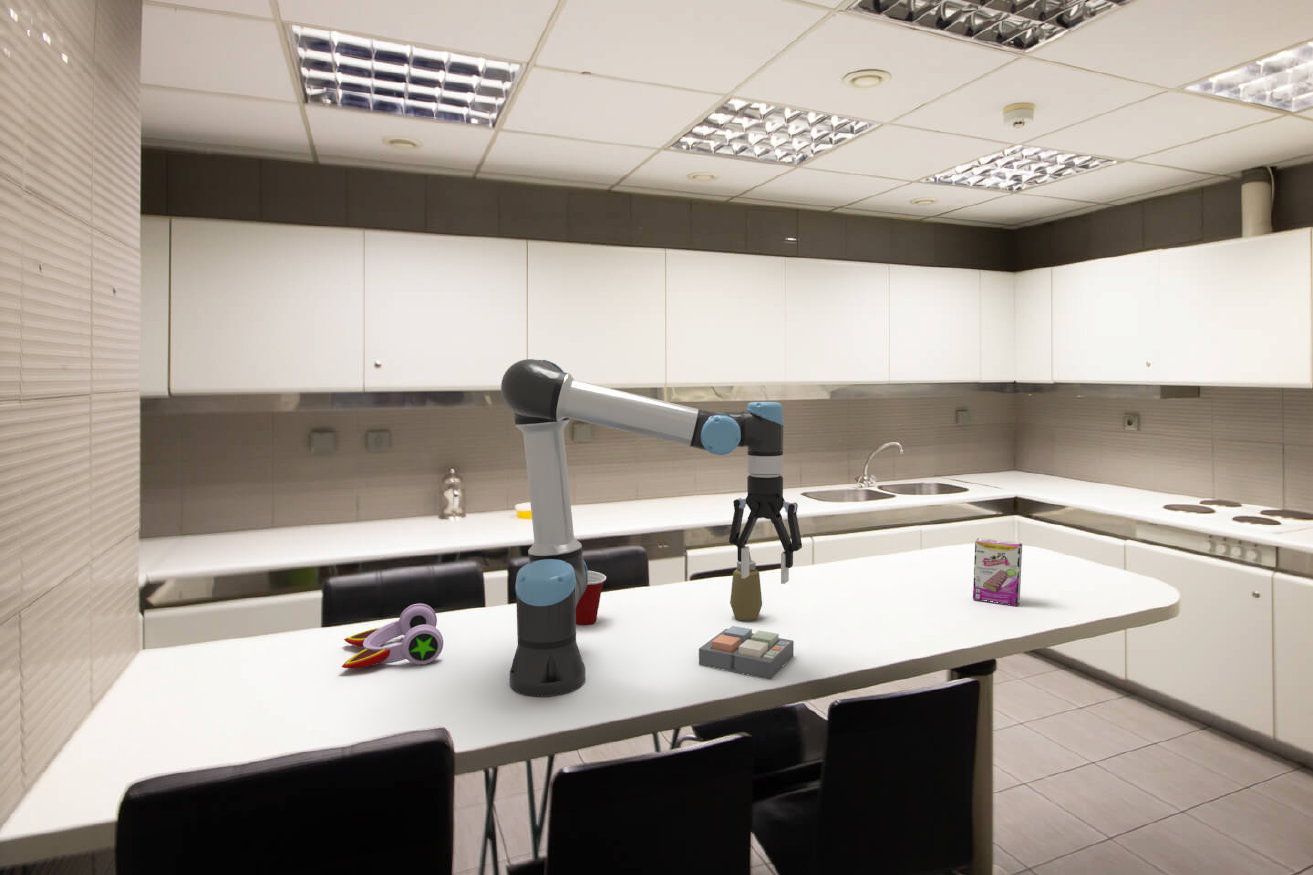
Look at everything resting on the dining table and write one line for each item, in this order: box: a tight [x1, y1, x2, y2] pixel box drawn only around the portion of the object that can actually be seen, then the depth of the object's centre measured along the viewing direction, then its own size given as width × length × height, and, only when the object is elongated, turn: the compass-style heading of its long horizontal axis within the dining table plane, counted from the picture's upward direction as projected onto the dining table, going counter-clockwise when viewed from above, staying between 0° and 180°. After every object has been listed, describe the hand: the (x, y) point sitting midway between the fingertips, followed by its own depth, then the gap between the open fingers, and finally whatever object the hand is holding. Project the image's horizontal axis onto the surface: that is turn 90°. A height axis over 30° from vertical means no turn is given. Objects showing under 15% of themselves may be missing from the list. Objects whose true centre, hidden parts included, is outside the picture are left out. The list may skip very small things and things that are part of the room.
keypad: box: [698, 628, 795, 680], centre depth 157 cm, size 14×16×4 cm
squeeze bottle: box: [729, 551, 763, 622], centre depth 184 cm, size 8×8×18 cm
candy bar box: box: [972, 537, 1023, 607], centre depth 196 cm, size 11×5×16 cm, turn 58°
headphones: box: [341, 603, 444, 670], centre depth 163 cm, size 20×10×20 cm
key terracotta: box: [712, 635, 740, 653], centre depth 156 cm, size 5×5×3 cm
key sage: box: [751, 630, 779, 648], centre depth 158 cm, size 5×5×3 cm
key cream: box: [739, 639, 768, 658], centre depth 153 cm, size 5×5×3 cm
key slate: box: [724, 625, 753, 643], centre depth 161 cm, size 5×5×3 cm
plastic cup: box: [576, 570, 607, 627], centre depth 182 cm, size 11×11×12 cm
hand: (764, 579), depth 157 cm, fingers open, 8 cm apart
